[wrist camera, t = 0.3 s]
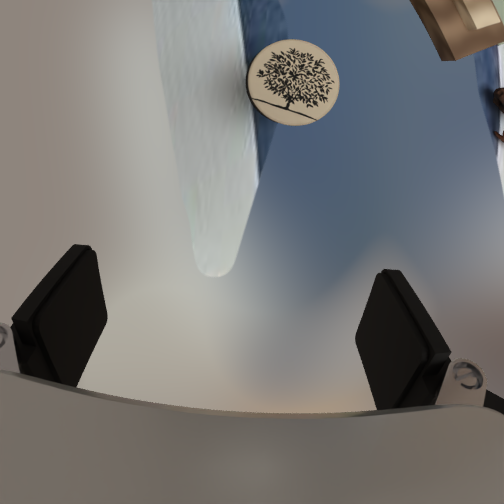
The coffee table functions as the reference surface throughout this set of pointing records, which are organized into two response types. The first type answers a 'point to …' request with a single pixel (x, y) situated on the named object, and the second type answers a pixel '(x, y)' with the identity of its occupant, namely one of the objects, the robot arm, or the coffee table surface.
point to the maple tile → (476, 13)
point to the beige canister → (292, 82)
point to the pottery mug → (503, 101)
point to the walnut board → (455, 30)
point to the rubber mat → (500, 10)
